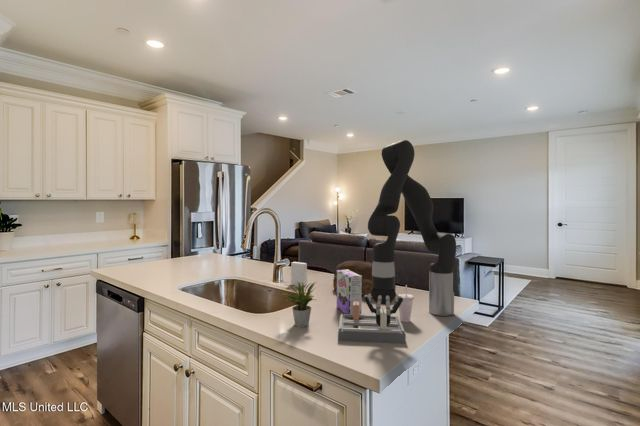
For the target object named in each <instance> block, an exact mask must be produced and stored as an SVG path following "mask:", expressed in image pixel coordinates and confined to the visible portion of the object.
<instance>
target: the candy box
mask: <svg viewBox="0 0 640 426" xmlns="http://www.w3.org/2000/svg"><path fill="white" fill-rule="evenodd" d="M362 296H363V295H362V276H361V275H358V274H356V273H354V272H352V271H350V270H348V269H346V270H337V290H336V308H337V309H339V310H340V311H341V312H343V313H344V314H353V302H356V301H357V302H359V315H362V300H363V299H362Z"/></svg>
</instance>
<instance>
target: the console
mask: <svg viewBox="0 0 640 426" xmlns="http://www.w3.org/2000/svg"><path fill="white" fill-rule="evenodd" d="M406 335H407V334H406V332H405V328H404V326H403V324H402V321H400V315H390V324H388V326H387V330H386V329H380V326H378V324H377V323H376V314H361V315H359V320H353V314H345V313H344V314H343V313H341V314H340V316H339V321H338V330H337V340H338V341H345V342H346V341H348V342H349V341H350V342H370V343H371V342H372V343H389V344H390V343H394V344H395V343H396V344H406V339H407V337H406Z"/></svg>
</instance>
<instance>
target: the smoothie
mask: <svg viewBox="0 0 640 426" xmlns="http://www.w3.org/2000/svg"><path fill="white" fill-rule="evenodd" d="M404 290H405V293H399V294H397V295H398V296H402V298H403V301H402V303H401V305H400V306H399V308H398V312H399V313H398V315H399V318H400V321H401V323H402V322H403V323H409V322H411V316H412V309H413V302H414V299H415V298H414V297H415V296H414V295H413V294H410V293H409V294H408V285H407V284H406V285H405V289H404Z"/></svg>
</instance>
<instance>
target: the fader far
mask: <svg viewBox="0 0 640 426" xmlns="http://www.w3.org/2000/svg"><path fill="white" fill-rule="evenodd" d="M353 320H359V302H357V301H356V302H353Z"/></svg>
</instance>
